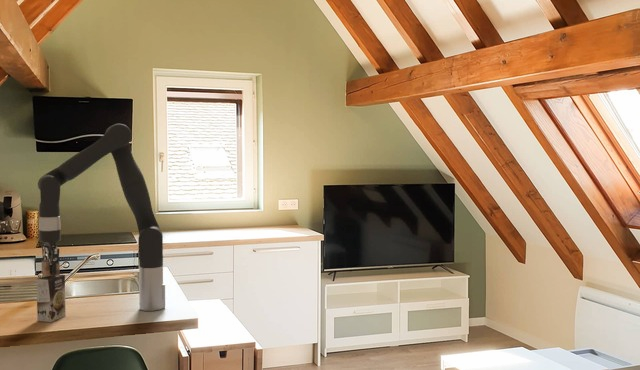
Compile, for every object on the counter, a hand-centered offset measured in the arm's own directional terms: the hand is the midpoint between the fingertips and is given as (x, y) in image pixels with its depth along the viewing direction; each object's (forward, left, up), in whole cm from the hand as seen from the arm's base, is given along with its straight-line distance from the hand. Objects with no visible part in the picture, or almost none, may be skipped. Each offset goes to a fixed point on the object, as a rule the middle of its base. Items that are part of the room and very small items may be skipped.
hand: (50, 273), depth 245 cm
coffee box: (0, 0, -18) cm, 18 cm away
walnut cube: (0, 0, 0) cm, 0 cm away
